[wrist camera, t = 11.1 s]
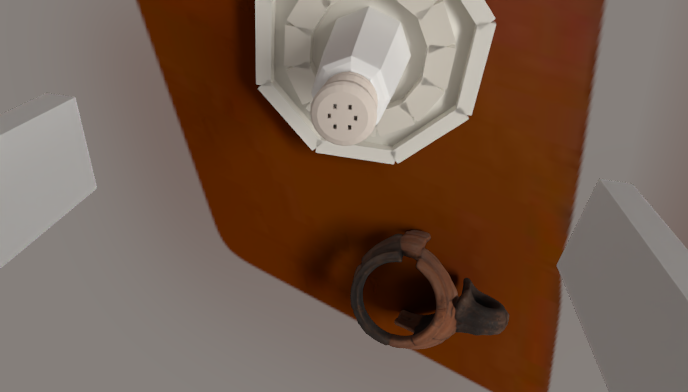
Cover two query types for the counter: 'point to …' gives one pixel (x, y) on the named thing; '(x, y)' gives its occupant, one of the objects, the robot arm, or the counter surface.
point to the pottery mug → (451, 315)
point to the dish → (416, 81)
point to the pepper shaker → (357, 75)
